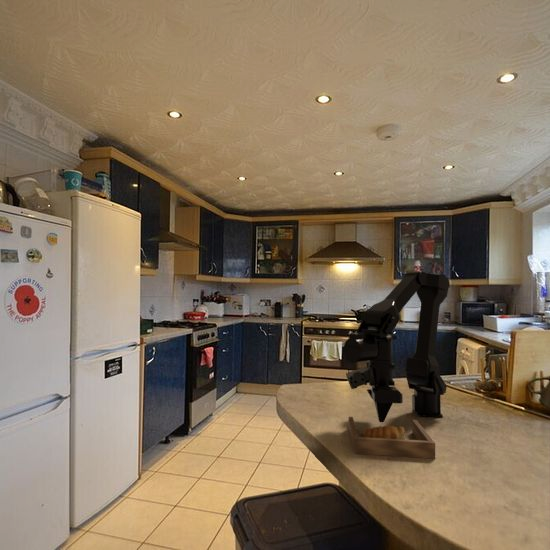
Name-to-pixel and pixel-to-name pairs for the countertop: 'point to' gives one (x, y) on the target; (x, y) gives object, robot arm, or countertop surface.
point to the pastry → (385, 432)
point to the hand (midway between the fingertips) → (381, 421)
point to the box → (394, 443)
